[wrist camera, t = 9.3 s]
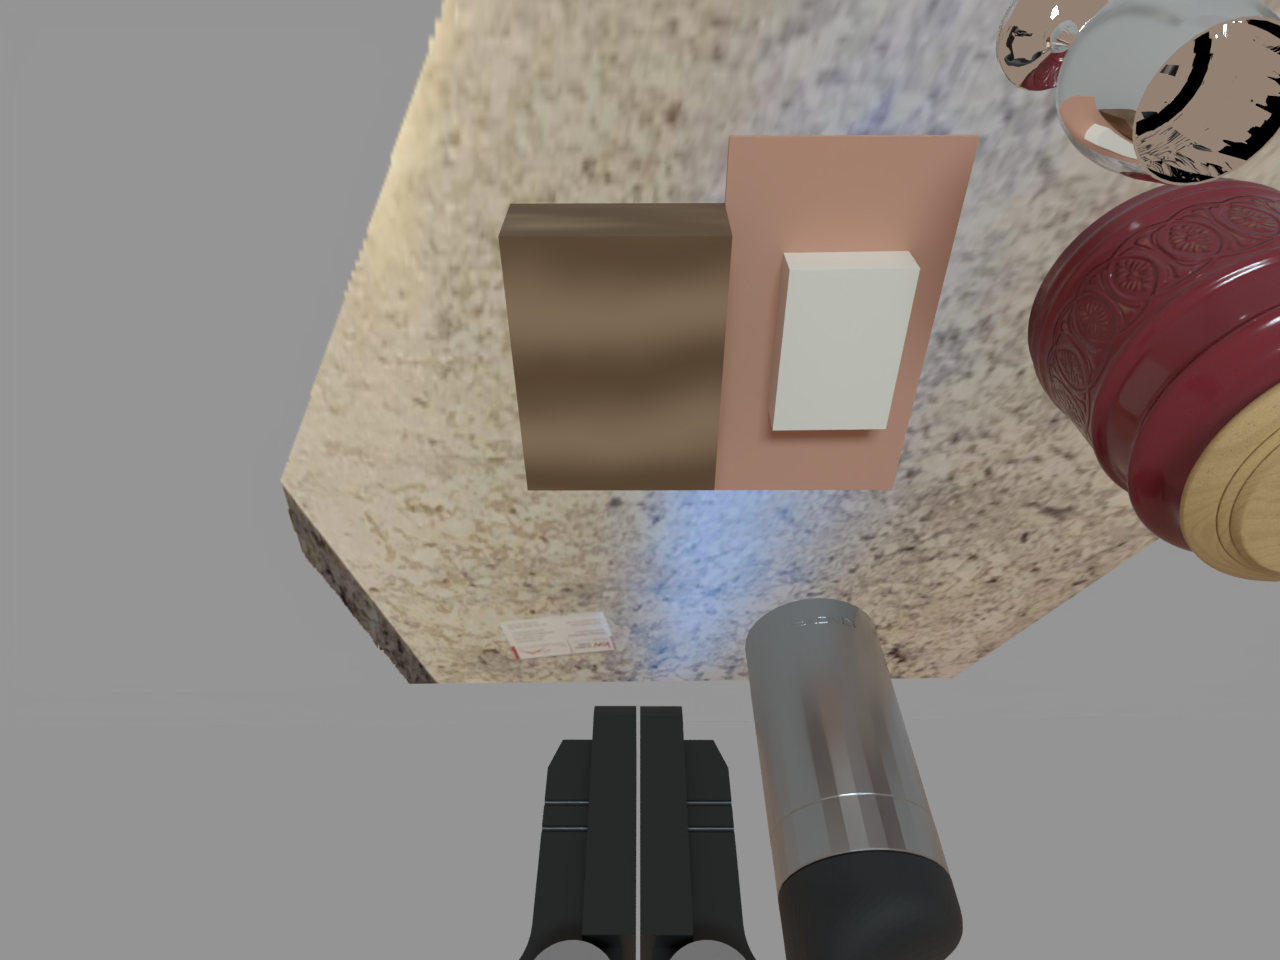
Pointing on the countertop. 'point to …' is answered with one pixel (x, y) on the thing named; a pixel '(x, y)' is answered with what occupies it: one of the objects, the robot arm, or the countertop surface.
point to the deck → (617, 341)
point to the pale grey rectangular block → (840, 338)
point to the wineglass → (1152, 80)
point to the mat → (828, 222)
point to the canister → (1177, 363)
